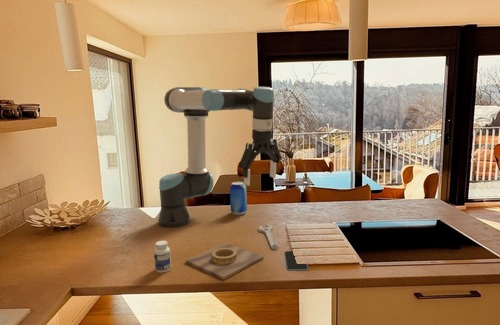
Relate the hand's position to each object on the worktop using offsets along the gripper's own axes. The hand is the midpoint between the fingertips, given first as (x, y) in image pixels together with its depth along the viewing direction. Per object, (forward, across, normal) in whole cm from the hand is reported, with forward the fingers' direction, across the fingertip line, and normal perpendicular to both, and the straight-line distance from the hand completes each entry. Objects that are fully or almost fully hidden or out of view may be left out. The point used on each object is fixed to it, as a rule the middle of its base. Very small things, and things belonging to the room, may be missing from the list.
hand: (260, 180), depth 137 cm
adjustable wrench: (+26, +3, -3) cm, 27 cm away
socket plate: (+23, -23, -8) cm, 34 cm away
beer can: (+33, +14, +32) cm, 48 cm away
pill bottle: (+24, -43, 0) cm, 49 cm away
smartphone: (+22, -4, -26) cm, 34 cm away
